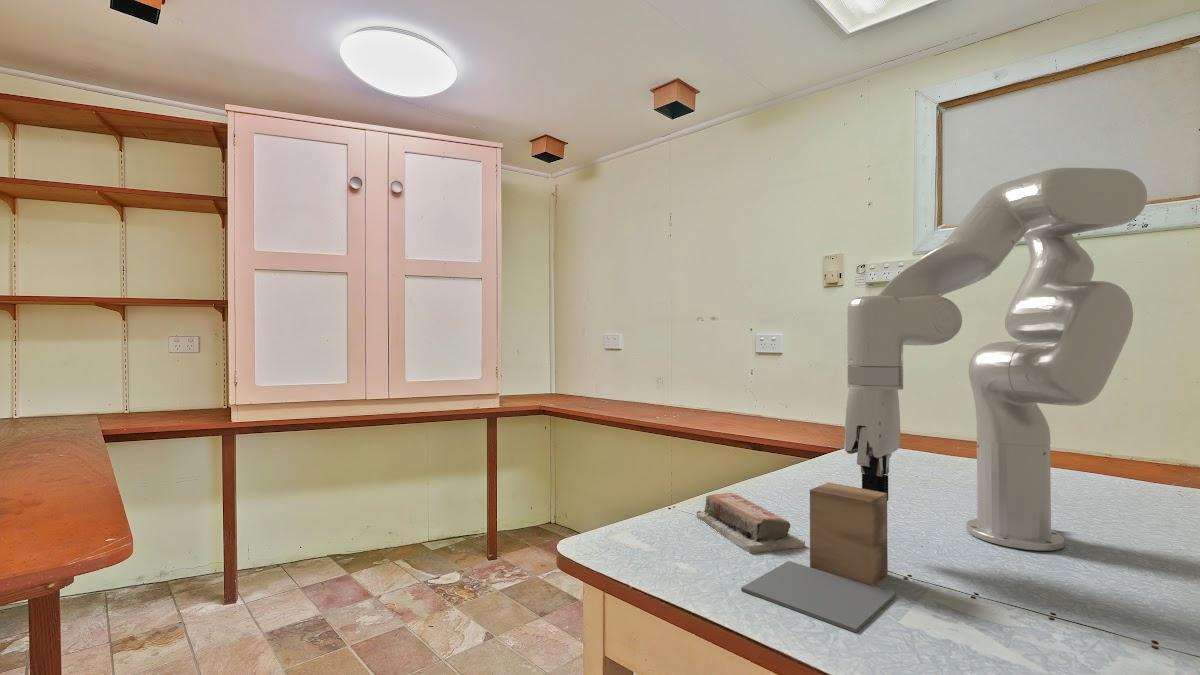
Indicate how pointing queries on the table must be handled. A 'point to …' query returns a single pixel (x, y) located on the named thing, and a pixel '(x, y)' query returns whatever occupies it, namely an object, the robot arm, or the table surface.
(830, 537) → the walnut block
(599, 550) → the table surface
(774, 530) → the packaged product
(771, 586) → the mat
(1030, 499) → the robot arm
